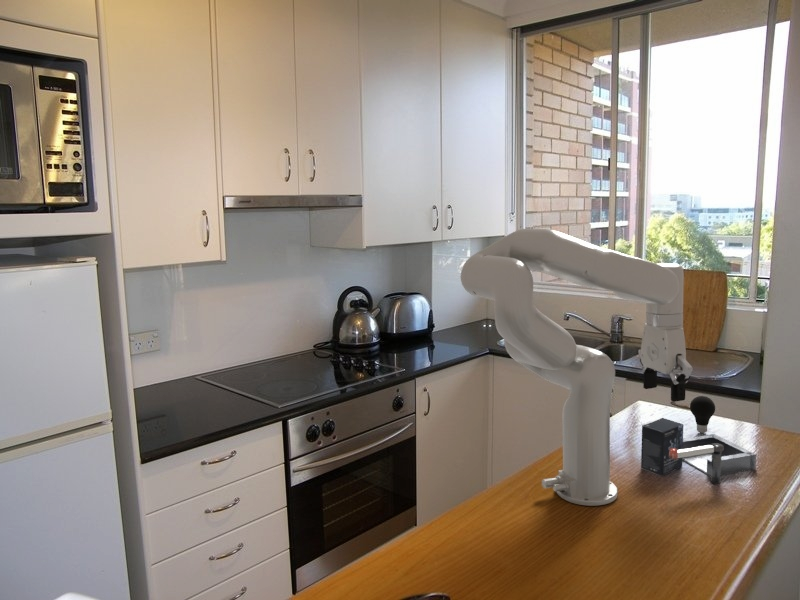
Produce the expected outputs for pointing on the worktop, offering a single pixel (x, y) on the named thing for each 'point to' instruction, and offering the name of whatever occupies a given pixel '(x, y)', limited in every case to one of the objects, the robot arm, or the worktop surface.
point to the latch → (695, 450)
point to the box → (661, 446)
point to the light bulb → (702, 412)
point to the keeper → (719, 457)
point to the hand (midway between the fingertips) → (663, 394)
